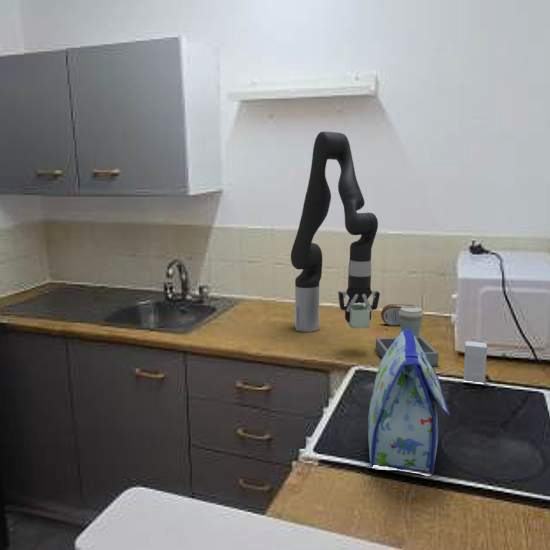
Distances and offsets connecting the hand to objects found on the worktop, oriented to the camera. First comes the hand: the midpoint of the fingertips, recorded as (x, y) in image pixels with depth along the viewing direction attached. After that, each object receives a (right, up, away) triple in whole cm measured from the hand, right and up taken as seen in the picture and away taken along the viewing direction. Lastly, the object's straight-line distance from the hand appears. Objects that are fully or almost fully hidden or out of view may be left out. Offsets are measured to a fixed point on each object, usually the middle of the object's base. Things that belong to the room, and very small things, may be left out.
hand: (357, 321), depth 188 cm
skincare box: (+31, -16, -24) cm, 42 cm away
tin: (+21, -4, +30) cm, 37 cm away
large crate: (+15, -12, -4) cm, 20 cm away
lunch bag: (+2, -25, -60) cm, 65 cm away
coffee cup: (+21, -8, +13) cm, 26 cm away
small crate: (0, -1, 0) cm, 1 cm away
